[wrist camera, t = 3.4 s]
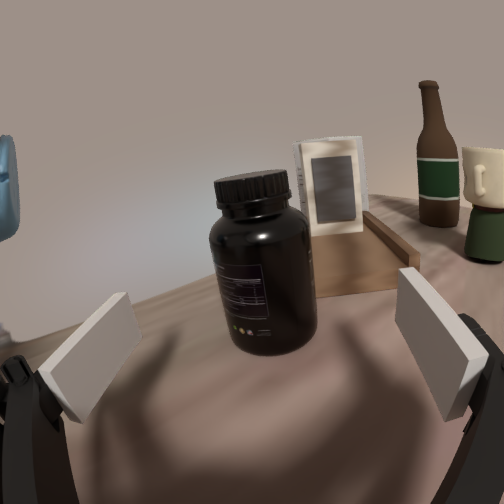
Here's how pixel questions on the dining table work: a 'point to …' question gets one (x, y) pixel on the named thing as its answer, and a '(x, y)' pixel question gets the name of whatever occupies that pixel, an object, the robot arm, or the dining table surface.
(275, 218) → the supplement bottle
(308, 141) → the supplement box
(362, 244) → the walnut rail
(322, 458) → the dining table surface
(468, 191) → the character mug
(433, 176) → the beer bottle
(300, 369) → the dining table surface
